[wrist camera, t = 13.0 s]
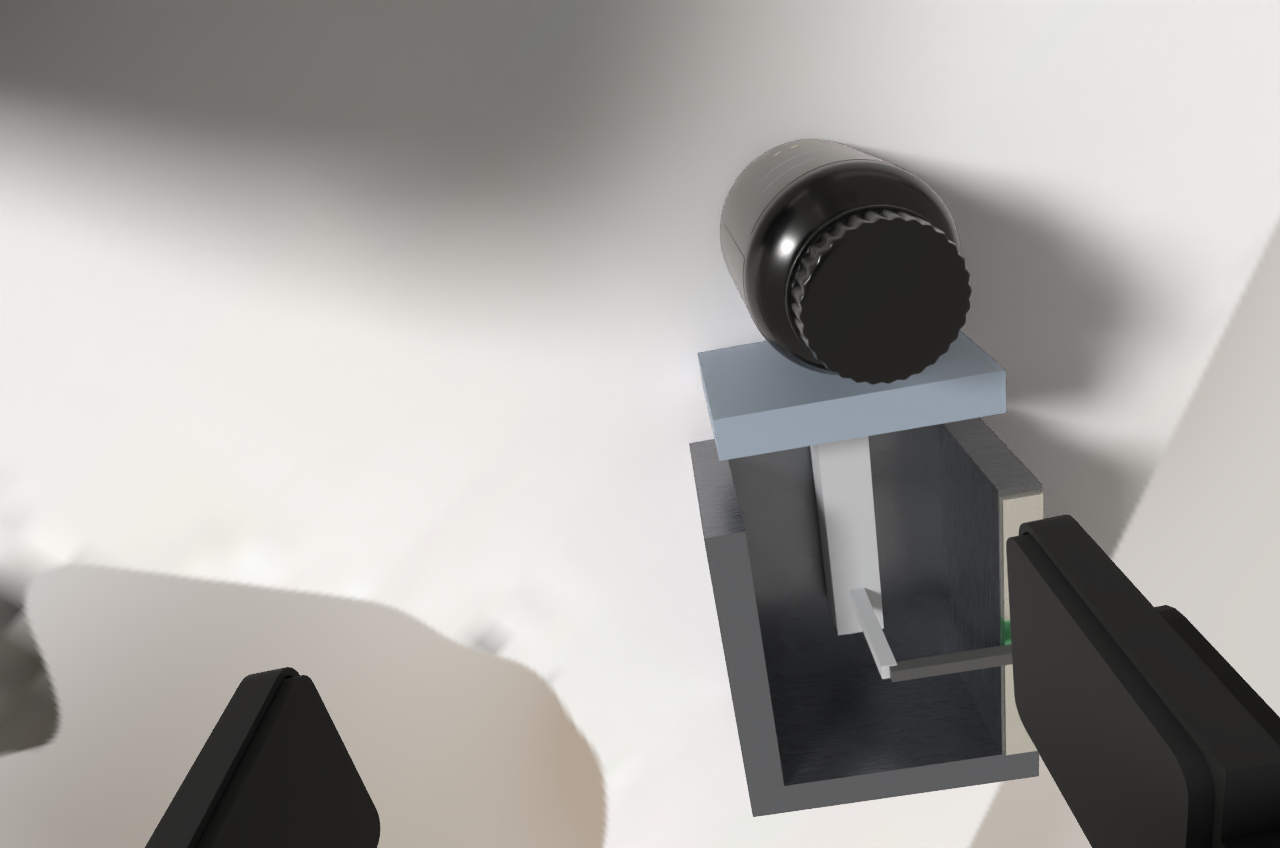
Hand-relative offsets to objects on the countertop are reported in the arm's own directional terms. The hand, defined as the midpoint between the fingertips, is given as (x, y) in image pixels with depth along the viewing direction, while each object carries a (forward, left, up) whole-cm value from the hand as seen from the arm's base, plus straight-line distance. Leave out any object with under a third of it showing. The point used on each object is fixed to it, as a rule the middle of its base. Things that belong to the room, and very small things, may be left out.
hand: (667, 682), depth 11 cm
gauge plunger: (+11, +8, -25) cm, 29 cm away
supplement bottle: (0, +7, -26) cm, 27 cm away
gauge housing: (+16, +7, -26) cm, 31 cm away
